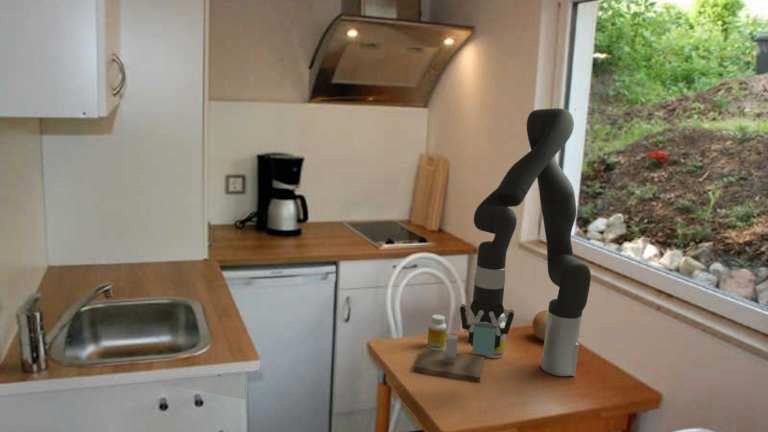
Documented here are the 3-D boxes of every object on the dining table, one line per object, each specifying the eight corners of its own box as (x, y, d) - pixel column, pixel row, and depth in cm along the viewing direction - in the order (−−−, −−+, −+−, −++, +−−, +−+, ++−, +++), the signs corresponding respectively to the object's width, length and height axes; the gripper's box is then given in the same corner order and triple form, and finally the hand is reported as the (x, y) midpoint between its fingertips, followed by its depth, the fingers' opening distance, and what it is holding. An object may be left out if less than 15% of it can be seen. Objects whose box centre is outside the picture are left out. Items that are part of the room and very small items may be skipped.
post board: (483, 362, 188) (484, 357, 187) (479, 382, 174) (479, 377, 174) (422, 352, 191) (423, 348, 191) (414, 371, 178) (414, 366, 178)
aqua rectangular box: (494, 347, 168) (497, 322, 167) (493, 355, 163) (495, 329, 162) (473, 345, 169) (476, 319, 168) (472, 352, 164) (474, 326, 163)
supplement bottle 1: (443, 351, 194) (446, 320, 192) (425, 349, 194) (428, 318, 193) (445, 345, 199) (448, 315, 197) (428, 342, 200) (430, 312, 198)
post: (455, 360, 184) (458, 336, 182) (454, 364, 181) (456, 339, 180) (445, 359, 184) (448, 334, 183) (444, 363, 182) (446, 338, 180)
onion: (545, 347, 202) (549, 317, 200) (524, 336, 211) (527, 307, 209) (568, 343, 207) (571, 314, 205) (546, 332, 215) (550, 304, 213)
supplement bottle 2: (477, 350, 196) (481, 310, 194) (497, 349, 198) (501, 309, 196) (486, 359, 190) (491, 318, 187) (507, 358, 192) (511, 317, 189)
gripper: (518, 282, 165) (512, 344, 168) (462, 276, 168) (457, 337, 171) (518, 290, 157) (511, 356, 161) (459, 284, 160) (454, 348, 164)
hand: (483, 346), depth 166 cm, fingers closed on aqua rectangular box, 5 cm apart
